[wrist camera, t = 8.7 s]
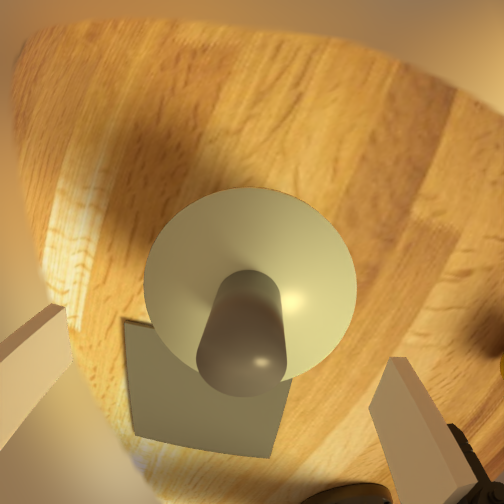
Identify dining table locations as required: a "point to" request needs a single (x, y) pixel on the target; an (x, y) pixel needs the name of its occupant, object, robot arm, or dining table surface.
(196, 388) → the mat
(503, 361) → the lemon
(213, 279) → the lid
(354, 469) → the dining table surface
